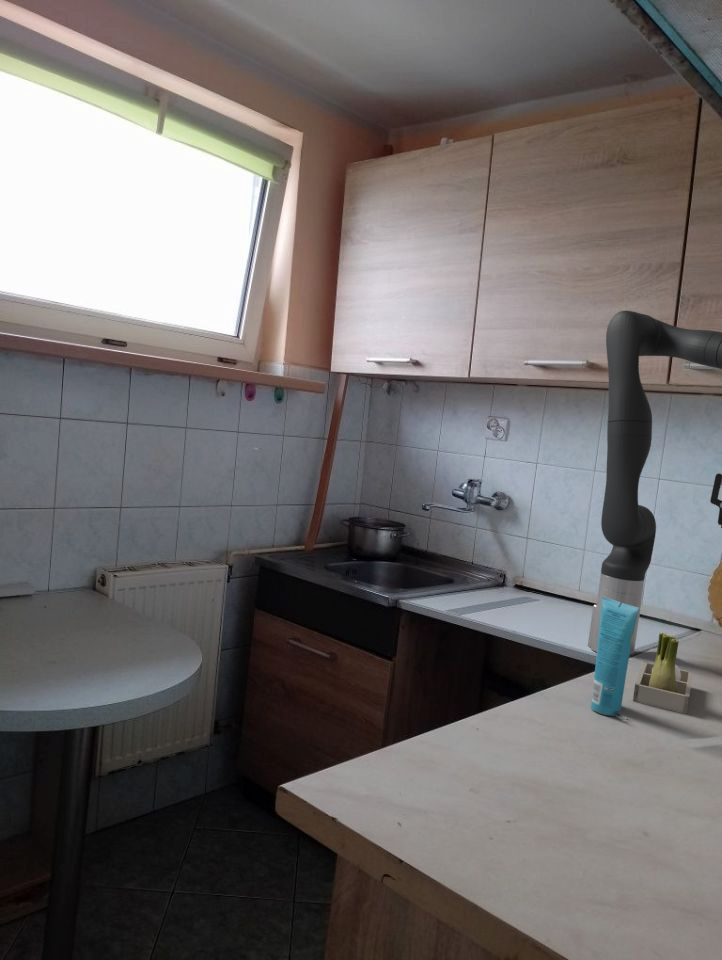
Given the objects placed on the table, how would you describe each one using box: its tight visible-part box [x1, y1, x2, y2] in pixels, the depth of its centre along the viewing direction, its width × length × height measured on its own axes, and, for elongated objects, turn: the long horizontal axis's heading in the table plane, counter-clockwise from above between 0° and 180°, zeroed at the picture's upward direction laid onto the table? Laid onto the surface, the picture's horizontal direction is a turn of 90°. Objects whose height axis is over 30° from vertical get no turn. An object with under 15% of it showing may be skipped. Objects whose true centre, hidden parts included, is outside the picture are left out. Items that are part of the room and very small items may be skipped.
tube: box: [590, 597, 639, 717], centre depth 130 cm, size 7×5×19 cm, turn 39°
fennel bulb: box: [649, 632, 679, 693], centre depth 136 cm, size 6×5×12 cm
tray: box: [632, 661, 693, 715], centre depth 140 cm, size 17×9×4 cm, turn 154°
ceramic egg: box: [652, 663, 681, 681], centre depth 144 cm, size 5×5×5 cm
